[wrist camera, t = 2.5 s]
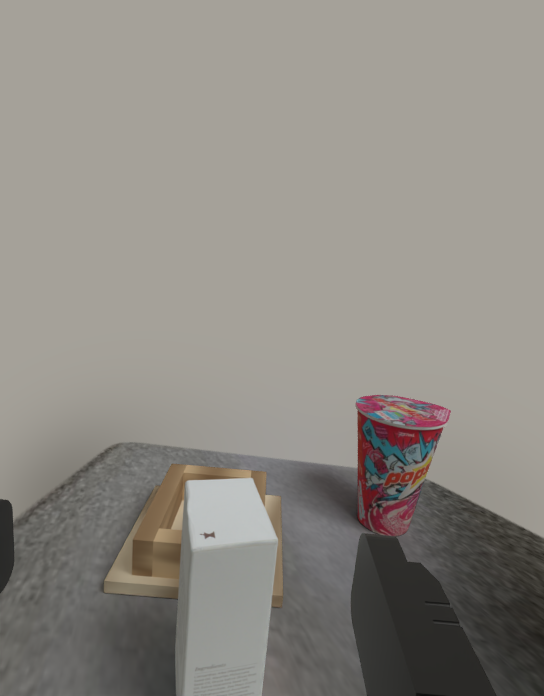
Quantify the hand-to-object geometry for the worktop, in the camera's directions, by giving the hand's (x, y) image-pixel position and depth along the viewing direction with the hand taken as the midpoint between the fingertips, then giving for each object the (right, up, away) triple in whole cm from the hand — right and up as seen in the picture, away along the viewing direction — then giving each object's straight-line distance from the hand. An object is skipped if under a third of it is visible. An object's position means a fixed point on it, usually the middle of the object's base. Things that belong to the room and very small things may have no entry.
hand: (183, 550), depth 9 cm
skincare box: (-1, -15, +15) cm, 21 cm away
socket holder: (-4, -12, +27) cm, 30 cm away
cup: (+14, -13, +33) cm, 38 cm away
